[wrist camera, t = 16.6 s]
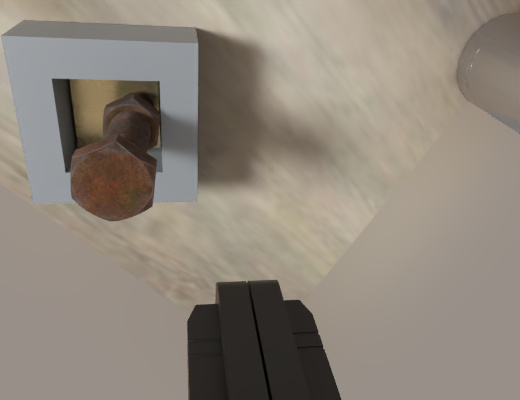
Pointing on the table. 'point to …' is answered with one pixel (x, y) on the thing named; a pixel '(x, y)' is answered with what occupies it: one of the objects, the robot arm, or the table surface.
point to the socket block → (101, 68)
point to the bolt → (119, 161)
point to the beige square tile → (103, 104)
